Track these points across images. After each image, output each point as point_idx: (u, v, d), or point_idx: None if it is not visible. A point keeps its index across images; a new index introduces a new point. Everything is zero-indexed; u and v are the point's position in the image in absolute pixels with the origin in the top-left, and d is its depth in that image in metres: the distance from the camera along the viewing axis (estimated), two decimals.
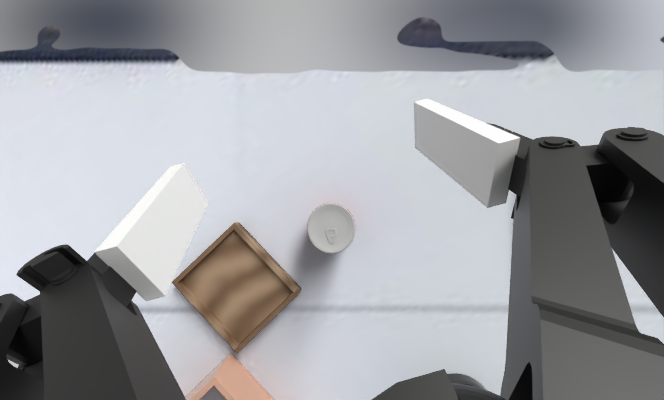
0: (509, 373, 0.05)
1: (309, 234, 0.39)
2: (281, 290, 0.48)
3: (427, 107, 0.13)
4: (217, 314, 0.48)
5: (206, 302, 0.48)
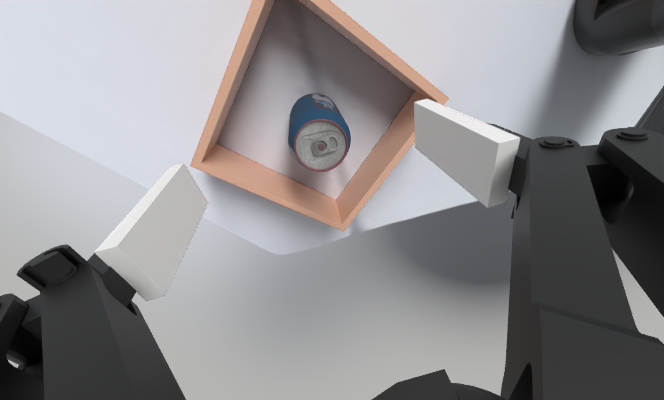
0: (509, 373, 0.05)
1: None
2: None
3: (427, 107, 0.13)
4: None
5: None
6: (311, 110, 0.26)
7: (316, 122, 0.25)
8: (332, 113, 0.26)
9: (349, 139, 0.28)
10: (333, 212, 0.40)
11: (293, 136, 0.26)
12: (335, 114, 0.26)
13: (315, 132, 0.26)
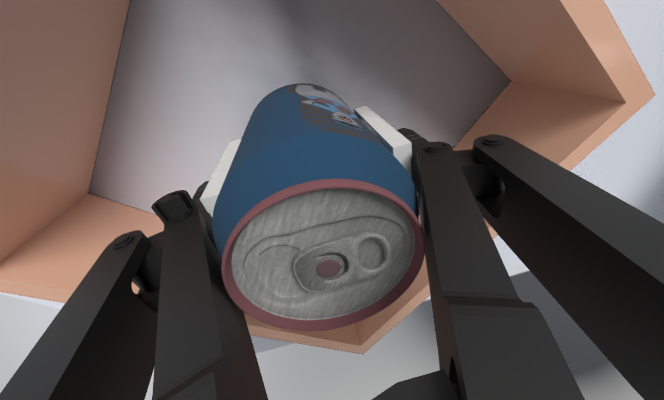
0: (442, 365, 0.05)
1: None
2: None
3: (360, 113, 0.14)
4: None
5: None
6: (290, 138, 0.07)
7: (311, 192, 0.06)
8: (371, 149, 0.07)
9: None
10: None
11: (222, 237, 0.07)
12: (380, 151, 0.07)
13: (307, 227, 0.07)
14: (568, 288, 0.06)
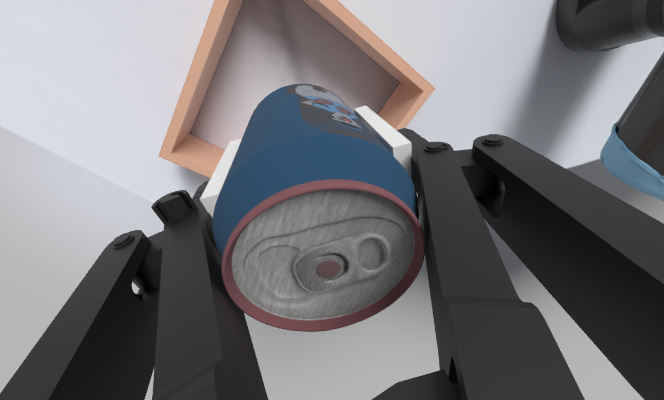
0: (442, 365, 0.05)
1: None
2: None
3: (361, 113, 0.14)
4: None
5: None
6: (290, 139, 0.07)
7: (311, 193, 0.06)
8: (370, 149, 0.07)
9: None
10: None
11: (223, 238, 0.07)
12: (380, 152, 0.07)
13: (307, 228, 0.07)
14: (568, 288, 0.06)
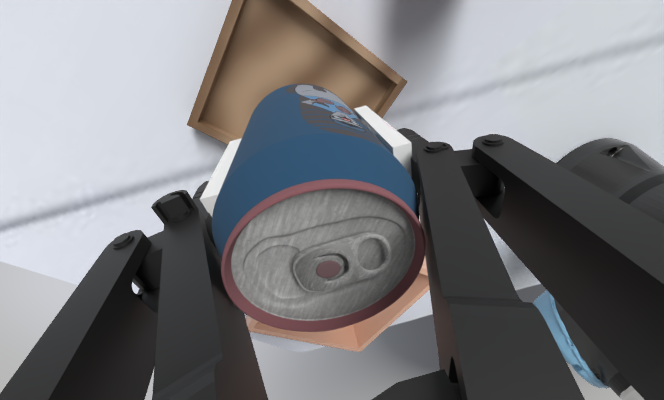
0: (442, 366, 0.05)
1: None
2: (371, 89, 0.29)
3: (361, 113, 0.14)
4: None
5: None
6: (290, 138, 0.07)
7: (311, 193, 0.06)
8: (371, 149, 0.07)
9: None
10: (350, 335, 0.49)
11: (222, 238, 0.07)
12: (380, 151, 0.07)
13: (306, 227, 0.06)
14: (568, 288, 0.06)
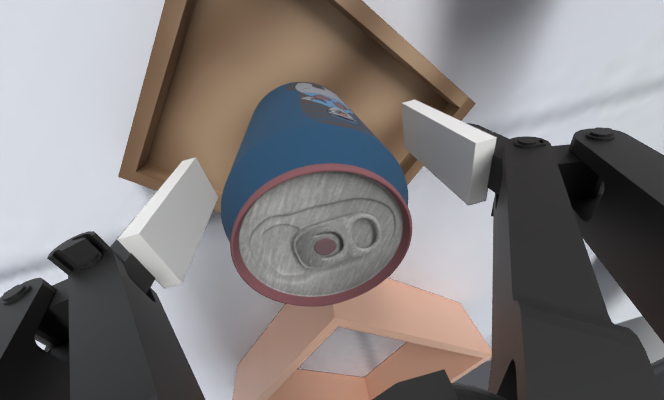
0: (495, 370, 0.05)
1: None
2: None
3: (413, 107, 0.13)
4: None
5: None
6: (291, 129, 0.08)
7: (310, 175, 0.07)
8: (363, 139, 0.08)
9: None
10: None
11: (231, 217, 0.08)
12: (372, 141, 0.08)
13: (306, 208, 0.07)
14: (663, 305, 0.05)
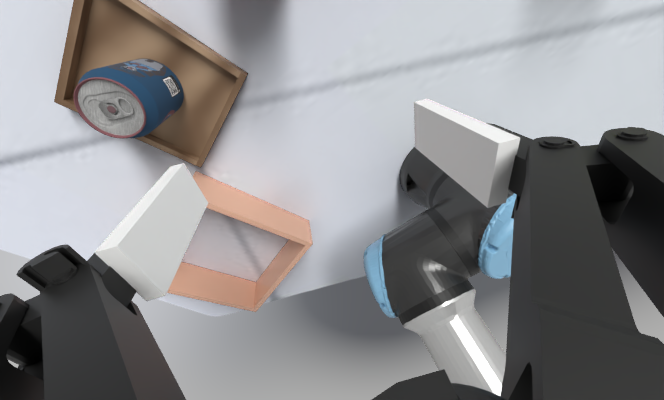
0: (509, 373, 0.05)
1: None
2: (221, 81, 0.35)
3: (427, 107, 0.13)
4: (152, 132, 0.37)
5: None
6: (96, 68, 0.24)
7: (96, 81, 0.23)
8: (121, 73, 0.24)
9: (152, 104, 0.26)
10: (249, 297, 0.56)
11: None
12: (126, 75, 0.24)
13: (99, 93, 0.24)
14: None
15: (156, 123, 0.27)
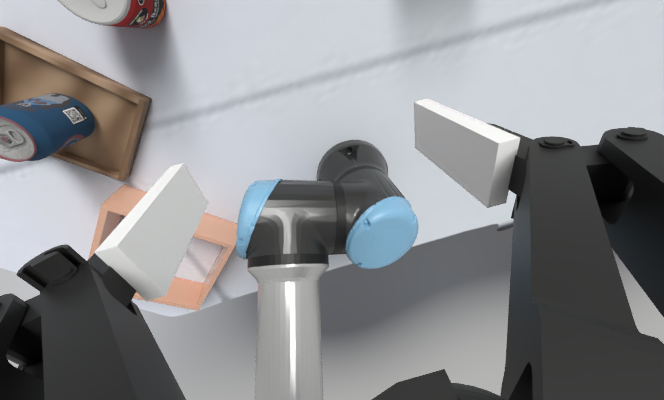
0: (509, 373, 0.05)
1: None
2: (127, 107, 0.41)
3: (427, 107, 0.13)
4: (76, 153, 0.43)
5: None
6: None
7: None
8: (11, 110, 0.30)
9: (42, 133, 0.32)
10: (193, 297, 0.61)
11: None
12: (15, 111, 0.30)
13: None
14: None
15: (51, 147, 0.33)
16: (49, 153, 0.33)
